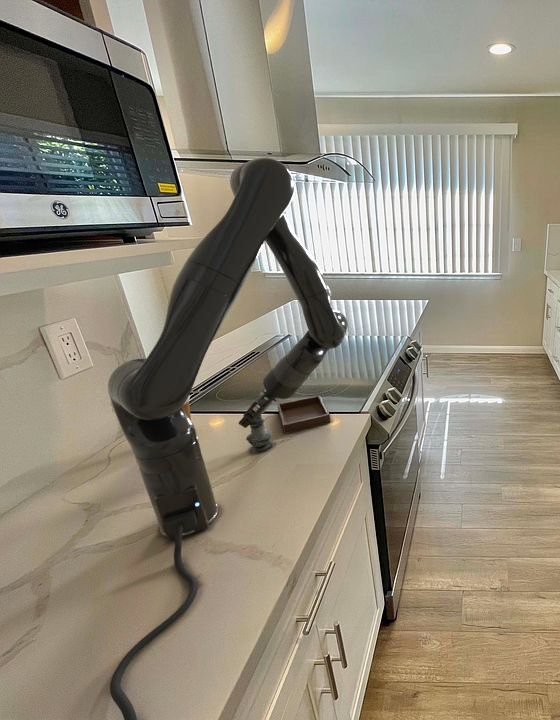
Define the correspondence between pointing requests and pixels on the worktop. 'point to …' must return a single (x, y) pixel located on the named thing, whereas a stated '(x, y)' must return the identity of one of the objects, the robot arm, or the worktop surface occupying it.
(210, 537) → the worktop surface
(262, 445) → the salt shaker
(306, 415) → the spice tray
